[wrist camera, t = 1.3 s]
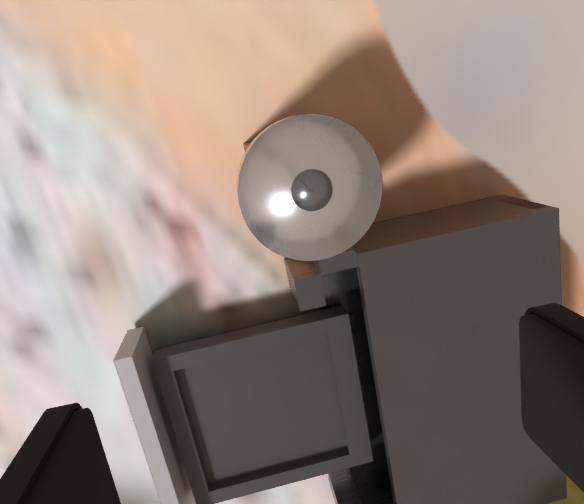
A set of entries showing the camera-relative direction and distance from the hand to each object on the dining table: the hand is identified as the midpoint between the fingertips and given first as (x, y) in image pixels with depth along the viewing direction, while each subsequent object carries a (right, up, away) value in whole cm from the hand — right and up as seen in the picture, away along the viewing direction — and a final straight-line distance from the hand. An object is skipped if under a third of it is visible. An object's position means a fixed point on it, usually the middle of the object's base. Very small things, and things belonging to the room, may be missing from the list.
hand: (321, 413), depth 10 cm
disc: (0, +7, +14) cm, 15 cm away
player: (+8, -4, +23) cm, 25 cm away
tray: (-3, -6, +22) cm, 23 cm away
